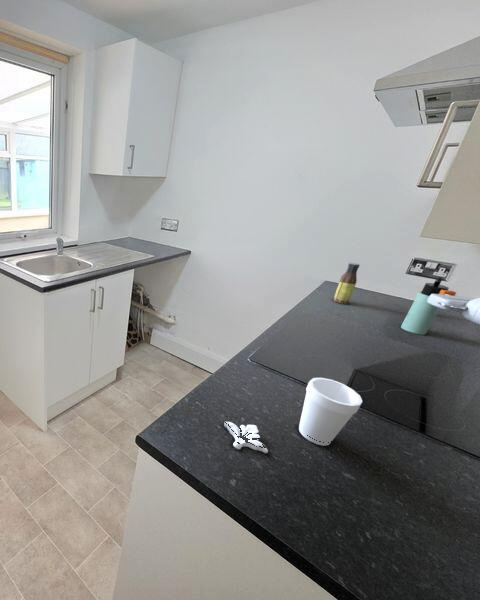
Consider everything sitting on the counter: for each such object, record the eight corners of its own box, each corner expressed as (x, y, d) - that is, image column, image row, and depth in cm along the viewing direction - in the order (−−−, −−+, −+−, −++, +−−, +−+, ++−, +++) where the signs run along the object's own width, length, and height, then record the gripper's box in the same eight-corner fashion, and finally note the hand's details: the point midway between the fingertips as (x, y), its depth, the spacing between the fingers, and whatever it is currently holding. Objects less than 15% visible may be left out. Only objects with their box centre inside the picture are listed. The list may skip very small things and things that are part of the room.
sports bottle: (431, 336, 126) (462, 282, 117) (409, 333, 127) (438, 279, 118) (416, 327, 133) (444, 275, 124) (396, 324, 134) (422, 273, 125)
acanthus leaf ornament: (223, 425, 75) (225, 419, 74) (252, 427, 75) (254, 421, 74) (235, 450, 68) (238, 444, 67) (267, 453, 68) (270, 447, 67)
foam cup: (287, 434, 73) (306, 390, 68) (294, 414, 80) (312, 372, 75) (337, 458, 68) (361, 412, 63) (340, 434, 74) (363, 391, 69)
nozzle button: (451, 301, 118) (456, 292, 116) (440, 299, 118) (445, 291, 117) (447, 299, 119) (452, 290, 118) (436, 298, 120) (441, 289, 119)
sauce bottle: (351, 304, 154) (367, 266, 146) (340, 304, 153) (356, 265, 145) (339, 299, 160) (354, 262, 152) (328, 299, 159) (343, 262, 151)
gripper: (441, 315, 108) (412, 300, 121) (514, 323, 104) (476, 307, 117) (451, 298, 106) (420, 285, 118) (525, 306, 102) (485, 291, 114)
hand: (448, 296), depth 117 cm, fingers closed, pressing on nozzle button
